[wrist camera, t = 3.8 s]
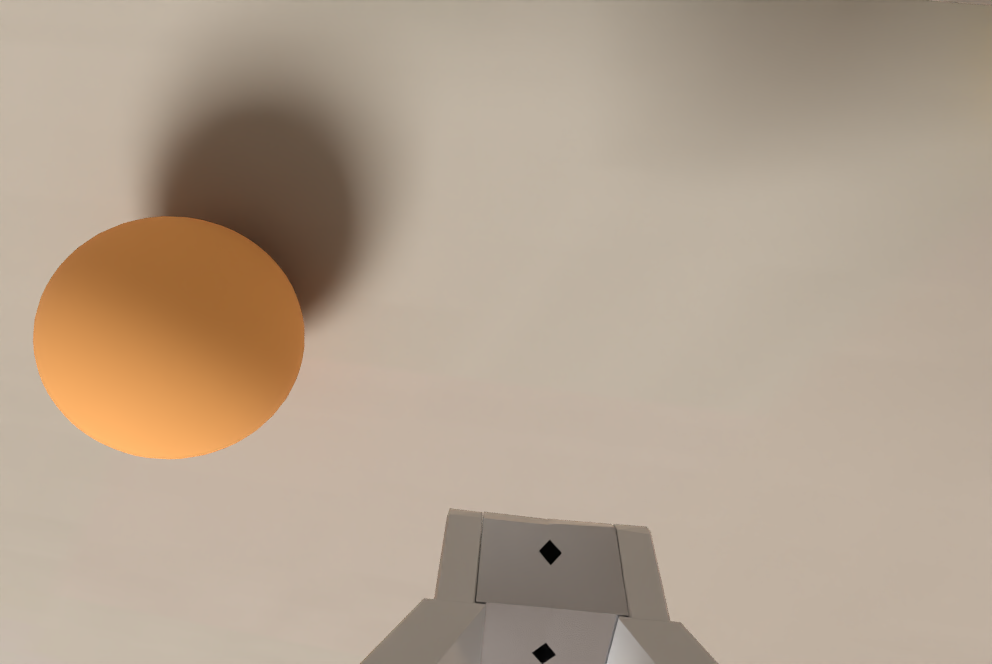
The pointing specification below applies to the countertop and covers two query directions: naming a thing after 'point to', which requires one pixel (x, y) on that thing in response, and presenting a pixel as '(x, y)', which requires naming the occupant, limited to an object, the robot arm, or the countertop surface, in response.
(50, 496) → the countertop surface
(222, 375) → the ball
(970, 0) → the skincare box
